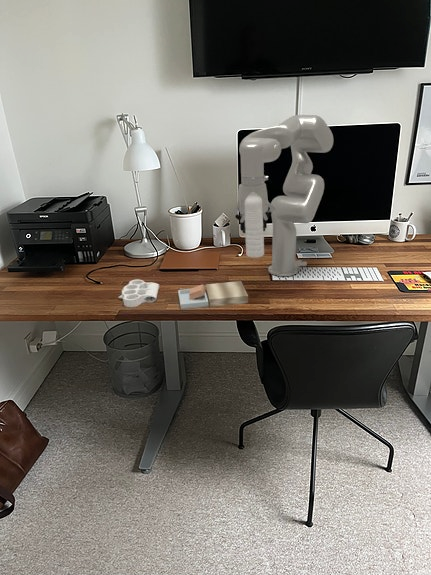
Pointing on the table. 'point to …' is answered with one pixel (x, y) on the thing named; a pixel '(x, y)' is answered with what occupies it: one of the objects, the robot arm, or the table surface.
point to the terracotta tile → (197, 292)
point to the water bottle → (254, 226)
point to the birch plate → (226, 293)
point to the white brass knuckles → (139, 293)
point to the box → (188, 303)
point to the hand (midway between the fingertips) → (253, 230)
